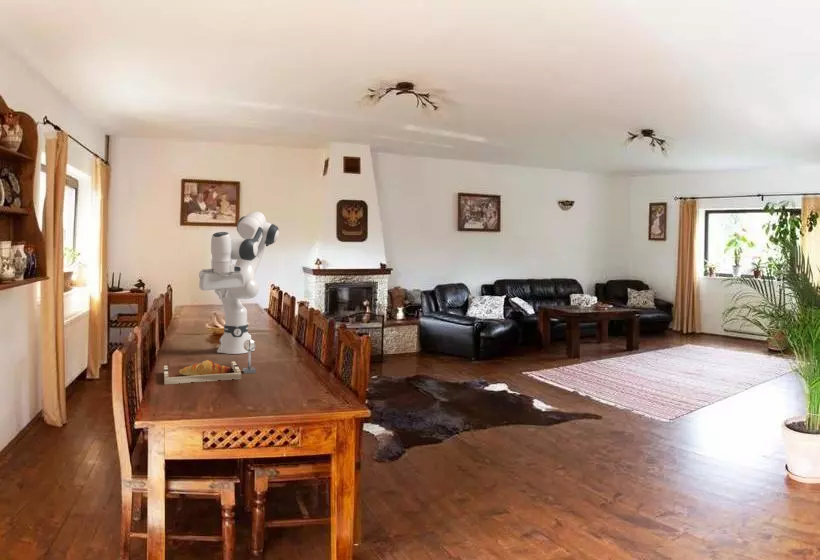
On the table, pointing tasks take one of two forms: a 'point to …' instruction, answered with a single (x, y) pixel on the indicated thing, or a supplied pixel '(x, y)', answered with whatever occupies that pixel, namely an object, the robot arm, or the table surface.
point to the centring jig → (202, 376)
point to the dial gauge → (249, 356)
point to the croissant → (204, 369)
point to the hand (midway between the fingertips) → (222, 298)
